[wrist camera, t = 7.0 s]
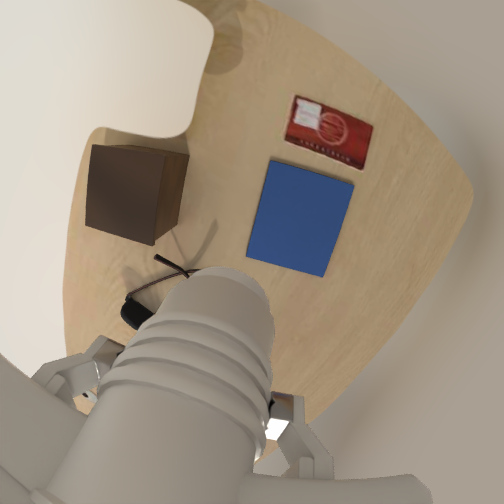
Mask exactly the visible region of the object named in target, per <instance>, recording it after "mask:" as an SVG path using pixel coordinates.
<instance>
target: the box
mask: <svg viewBox="0 0 504 504" xmlns="http://www.w3.org/2000/svg"><path fill="white" fill-rule="evenodd" d="M189 156H190V155H187V154H182V153H176V152H171V151H165V150H159V149H153V148H146V147H140V146H133V145H110V146H105V145H97V144H93V145H92V149H91V156H90V164H89V173H88V184H87V197H86V218H85V226H88V227H91V228H95V229H98V230H101V231H104V232H107V233H111V234H114V235H117V236H120V237H123V238H127V239H130V240H133V241H136V242H140V243H143V244H146V245H150V246H153V245H155V240H157V239H158V238H160V237H161V236H162V235H164V234H165V233H166V232H168V231H169V230H170V229H172V228H173V227H175V226H176V225H177V221H178V215H179V209H180V203H181V197H182V192H183V186H184V181H185V176H186V171H187V166H188V161H189Z"/></svg>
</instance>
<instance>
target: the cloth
mask: <svg viewBox="0 0 504 504" xmlns="http://www.w3.org/2000/svg"><path fill="white" fill-rule="evenodd" d="M353 189H354V185H351V184H348V183H345V182H342V181H339V180H336V179H333V178H330V177H327V176H324V175H321V174H317V173H314V172H311V171H307V170H304V169H301V168H297V167H294V166H290V165H287V164H283V163H279V162H275V161H272V160H271V161H270V165H269V169H268V173H267V177H266V181H265V184H264V188H263V192H262V196H261V200H260V204H259V208H258V211H257V215H256V219H255V223H254V227H253V231H252V235H251V239H250V243H249V246H248V250H247V254H246V257H250V258H253V259H257V260H261V261H264V262H268V263H272V264H275V265H279V266H283V267H286V268H290V269H294V270H297V271H301V272H305V273H308V274H312V275H316V276H319V277H323V276H324V273H325V270H326V268H327V265H328V262H329V260H330V257H331V254H332V252H333V249H334V246H335V243H336V240H337V238H338V235H339V232H340V229H341V226H342V223H343V220H344V217H345V214H346V211H347V208H348V205H349V202H350V199H351V195H352V192H353Z"/></svg>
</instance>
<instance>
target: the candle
mask: <svg viewBox="0 0 504 504" xmlns="http://www.w3.org/2000/svg"><path fill="white" fill-rule="evenodd" d="M274 336H275V325H274V318H273V316H272V314H271V312H270V306H269V300H268V298H267V296H266V294H265V292H264V290H263V289H262V287H261V286H260V285H259V284H258V283H257V282H256V281H255V280H254V279H253V278H251V277H250V276H248V275H247V274H245V273H244V272H241V271H238V270H236V269H233V268H228V267H222V266H217V267H207V268H204V269H202V270H199V271H197V272H195V273H194V274H193V275H191V276H190V277H189V278H188V279H185V280H183V281H180V282H179V283H178V284H177V285H175V286H174V287H173V288H172V289H170V291H169V292H168V294H167V296H166V297H165V299H164V300H163V302H162V304H161V305H160V307H159V309H158V311H157V312H156V314H155V315H153V316H152V317H150V318H149V319H148V320H146V321H145V322H144V323H142V325H141V326H140V327H139V329H138V331H137V333H136V334H135V336H134V337H132V338H131V339H130V341H129V342H128V343H127V345H126V347H125V349H124V351H123V352H122V353H121V354H120V355H118V357H117V358H116V359H115V361H114V363H113V365H112V367H111V369H110V371H109V372H107V373H106V374H105V375H104V376H103V377H102V379H101V380H100V383H99V385H98V387H97V399H98V401H97V402H96V404H95V405H94V407H93V408H92V410H91V412H90V413H89V415H88V418H87V420H86V422H85V424H84V426H83V428H82V430H81V431H80V433H79V434H78V436H77V438H76V439H75V441H74V442H73V444H72V446H71V447H70V449H69V450H68V452H67V454H66V455H65V457H64V459H63V460H62V462H61V464H60V465H59V467H58V469H57V470H56V472H55V474H54V475H53V477H52V479H51V481H50V482H49V484H48V486H47V488H46V489H35V488H34V489H33V490H32V492H31V493H30V494H29V497H30V498H31V500H32V501H33V502H34V503H35V504H237V500H238V495H239V489H240V485H241V482H242V479H243V476H244V474H245V473H247V472H250V473H253V467H254V462H255V461H256V460H257V459H258V458H259V457H260V456H262V455H263V452H264V449H265V446H266V438H267V437H266V434H265V431H266V428H267V424H268V420H269V412H268V408H269V404H270V400H271V391H270V388H271V384H272V379H273V373H272V367H271V362H270V355H271V351H272V346H273V342H274Z"/></svg>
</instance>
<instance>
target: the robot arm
mask: <svg viewBox="0 0 504 504" xmlns="http://www.w3.org/2000/svg"><path fill="white" fill-rule="evenodd" d="M125 347H126V346H124V345H122V344H120V343H118V342H116V341H114V340H111V339H109V338H107V337H105V336H103V335H100V336H99V337H98V338H97V339H96V340H95V341H94V342H93V343H92V344H91V346H90V347H89V348H88V349H87V350H86V351H85V353H84V354H82V353H79V354H76V355H72V356H69V357H66V358H63V359H59V360H55V361H52V362H49V363H45V364H43V365H42V366H41V368H40V369H39V370H38V371H37V372H36V373H35V374H34V375H33V376H32V378H29V377H28V376H27V375H25V374H24V373H23V372H22V371H20V370H19V369H18V368H17V367H15V366H14V365H13V364H12V363H11V362H9V361H8V360H7V359H6V358H5V357H4V356H3V355H1V354H0V504H35V503H34V502H33V501H32V500H31V498H30V497H29V494H30V493H31V492H32V490H33V489H34V488H35V489H46V488H47V486H48V484H49V482H50V481H51V479H52V477H53V475H54V474H55V472H56V470H57V469H58V467H59V465H60V464H61V462H62V460H63V459H64V457H65V455H66V454H67V452H68V450H69V449H70V447H71V446H72V444H73V442H74V441H75V439H76V438H77V436H78V434H79V433H80V431H81V430H82V428H83V426H84V424H85V422H86V420H87V418H88V415H86V414H84V413H82V412H81V411H79V410H77V408H76V405H75V402H74V400H73V398H74V397H76V396H78V395H80V394H82V393H84V392H86V391H88V390H90V389H92V388H94V387H96V386H98V385H99V383H100V380H101V379H102V377H103V376H104V375H105V374H106V373H107V372H109V371H110V369H111V367H112V365H113V363H114V361H115V359H116V358H117V357H118V355H120V354H121V353H122V352H123V351H124V349H125ZM268 412H269V420H268V424H267V428H266V431H265V434H266V437H267V439H272V440H277V443H278V445H279V447H280V448H281V450H282V452H283V454H284V456H285V458H286V460H287V462H288V464H289V465H290V468H289V469H288V470H287V471H286V472H285V473H284V474H282V475H281V477H277V476H269V475H263V474H256V473H250V472H247V473H245V474H244V476H243V479H242V482H241V485H240V489H239V495H238V500H237V504H433V501H432V496H431V492H430V490H429V489H428V488H427V487H426V486H425V485H424V484H423V483H422V482H421V481H420V480H419V479H418V478H416V477H415V476H414V475H412V474H404V475H397V476H390V477H380V478H368V479H351V480H350V479H349V480H334V464H333V457H332V456H331V455H330V453H329V452H328V451H327V450H326V448H325V447H324V446H323V444H322V443H321V442H320V440H319V439H318V438H317V436H316V435H315V434H314V432H313V431H312V430H311V428H310V427H309V426H308V424H305V411H304V397H303V396H297V395H292V394H286V393H280V392H275V391H272V392H271V400H270V404H269V408H268Z"/></svg>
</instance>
